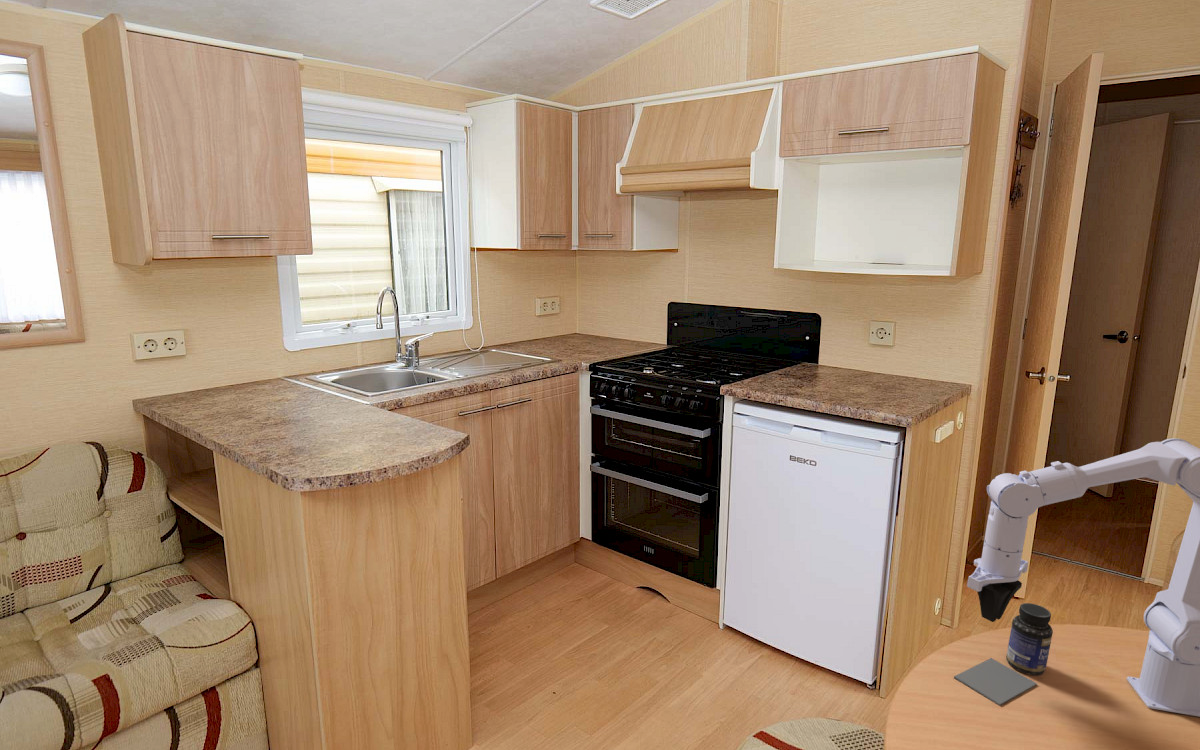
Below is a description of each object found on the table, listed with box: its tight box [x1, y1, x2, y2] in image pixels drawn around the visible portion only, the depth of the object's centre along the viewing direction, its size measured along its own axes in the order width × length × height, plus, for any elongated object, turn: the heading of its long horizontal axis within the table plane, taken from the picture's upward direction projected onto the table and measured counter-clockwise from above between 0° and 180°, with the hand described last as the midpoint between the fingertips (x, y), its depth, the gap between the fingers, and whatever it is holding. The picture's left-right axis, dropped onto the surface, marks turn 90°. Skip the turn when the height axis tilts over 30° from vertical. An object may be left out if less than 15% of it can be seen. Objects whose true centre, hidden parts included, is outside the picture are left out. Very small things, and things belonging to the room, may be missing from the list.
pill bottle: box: [1005, 602, 1054, 676], centre depth 123 cm, size 6×6×11 cm
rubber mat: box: [953, 657, 1038, 707], centre depth 120 cm, size 11×8×1 cm
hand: (991, 617), depth 120 cm, fingers closed
